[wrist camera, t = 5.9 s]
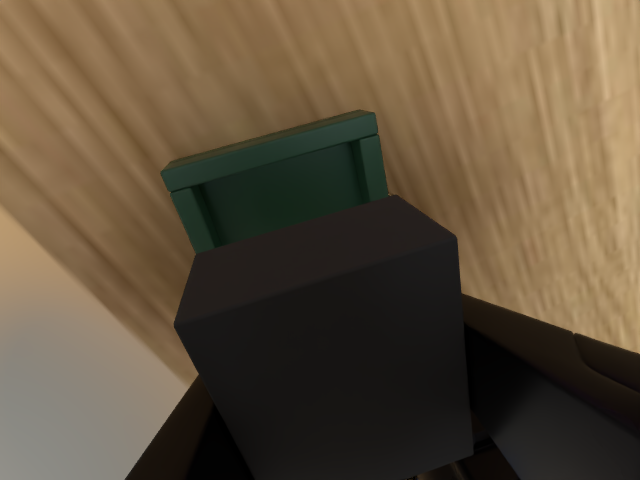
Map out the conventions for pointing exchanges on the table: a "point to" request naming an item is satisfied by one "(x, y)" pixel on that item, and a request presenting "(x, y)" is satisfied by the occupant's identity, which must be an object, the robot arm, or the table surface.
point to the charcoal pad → (335, 345)
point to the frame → (277, 179)
